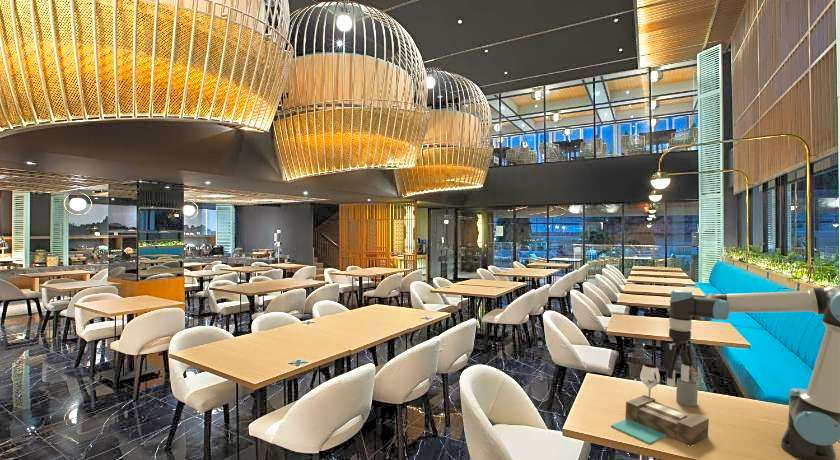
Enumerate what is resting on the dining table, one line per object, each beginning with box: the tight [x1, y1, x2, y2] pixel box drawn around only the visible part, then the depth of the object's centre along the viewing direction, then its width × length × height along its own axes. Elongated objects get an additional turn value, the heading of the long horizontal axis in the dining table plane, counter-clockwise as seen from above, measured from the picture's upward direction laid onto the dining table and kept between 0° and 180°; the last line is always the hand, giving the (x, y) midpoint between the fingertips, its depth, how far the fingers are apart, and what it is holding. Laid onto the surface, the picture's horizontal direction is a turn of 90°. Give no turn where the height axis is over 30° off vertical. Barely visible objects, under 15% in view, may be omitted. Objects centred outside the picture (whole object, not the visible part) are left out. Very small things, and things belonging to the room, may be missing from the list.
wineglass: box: [639, 363, 661, 397], centre depth 199 cm, size 8×8×18 cm
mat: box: [610, 419, 667, 445], centre depth 173 cm, size 16×12×1 cm
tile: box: [646, 402, 687, 421], centre depth 177 cm, size 14×5×2 cm, turn 33°
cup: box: [675, 377, 699, 407], centre depth 202 cm, size 8×8×10 cm
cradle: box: [624, 394, 710, 447], centre depth 177 cm, size 26×14×8 cm, turn 33°
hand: (677, 383), depth 173 cm, fingers open, 10 cm apart
